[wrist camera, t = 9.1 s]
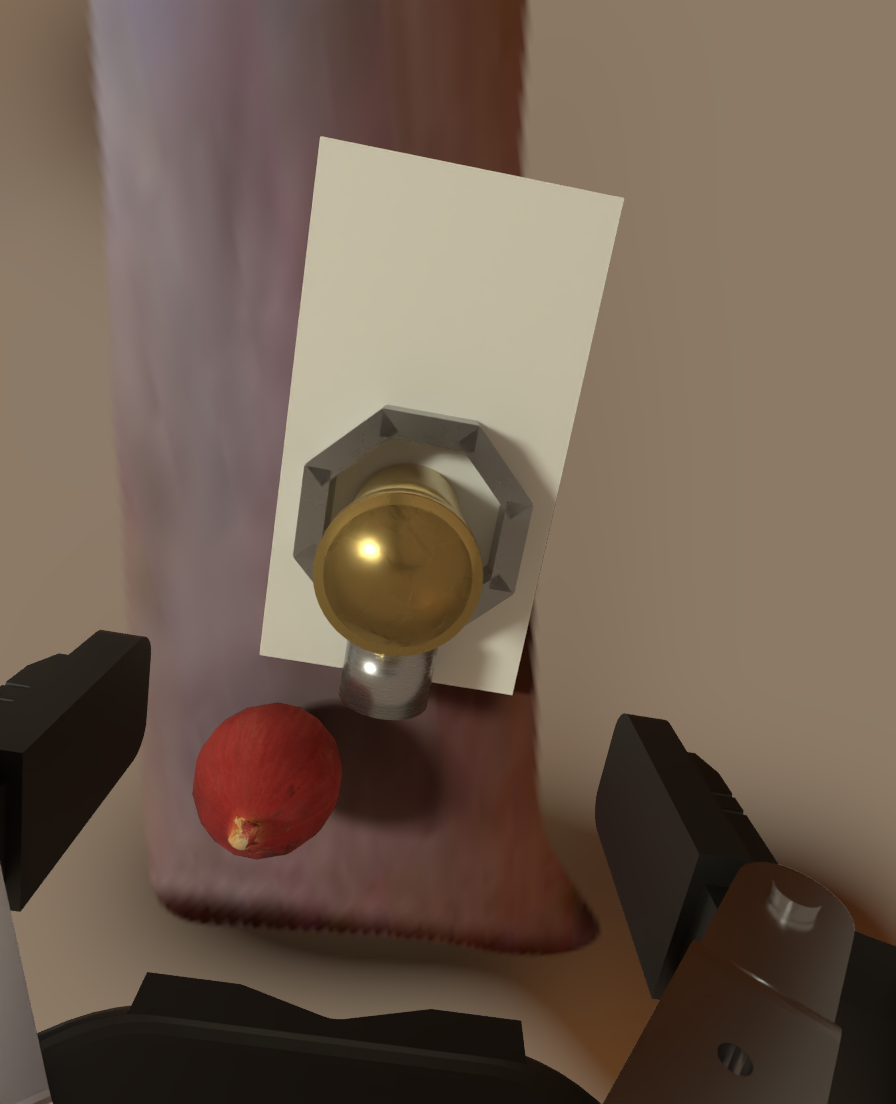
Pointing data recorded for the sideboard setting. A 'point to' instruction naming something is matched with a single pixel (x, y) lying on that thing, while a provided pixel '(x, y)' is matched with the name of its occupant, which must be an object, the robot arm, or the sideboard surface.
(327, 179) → the board
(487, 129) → the sideboard surface
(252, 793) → the onion
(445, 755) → the sideboard surface
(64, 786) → the robot arm
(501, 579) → the grey octagonal ring
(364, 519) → the knob
